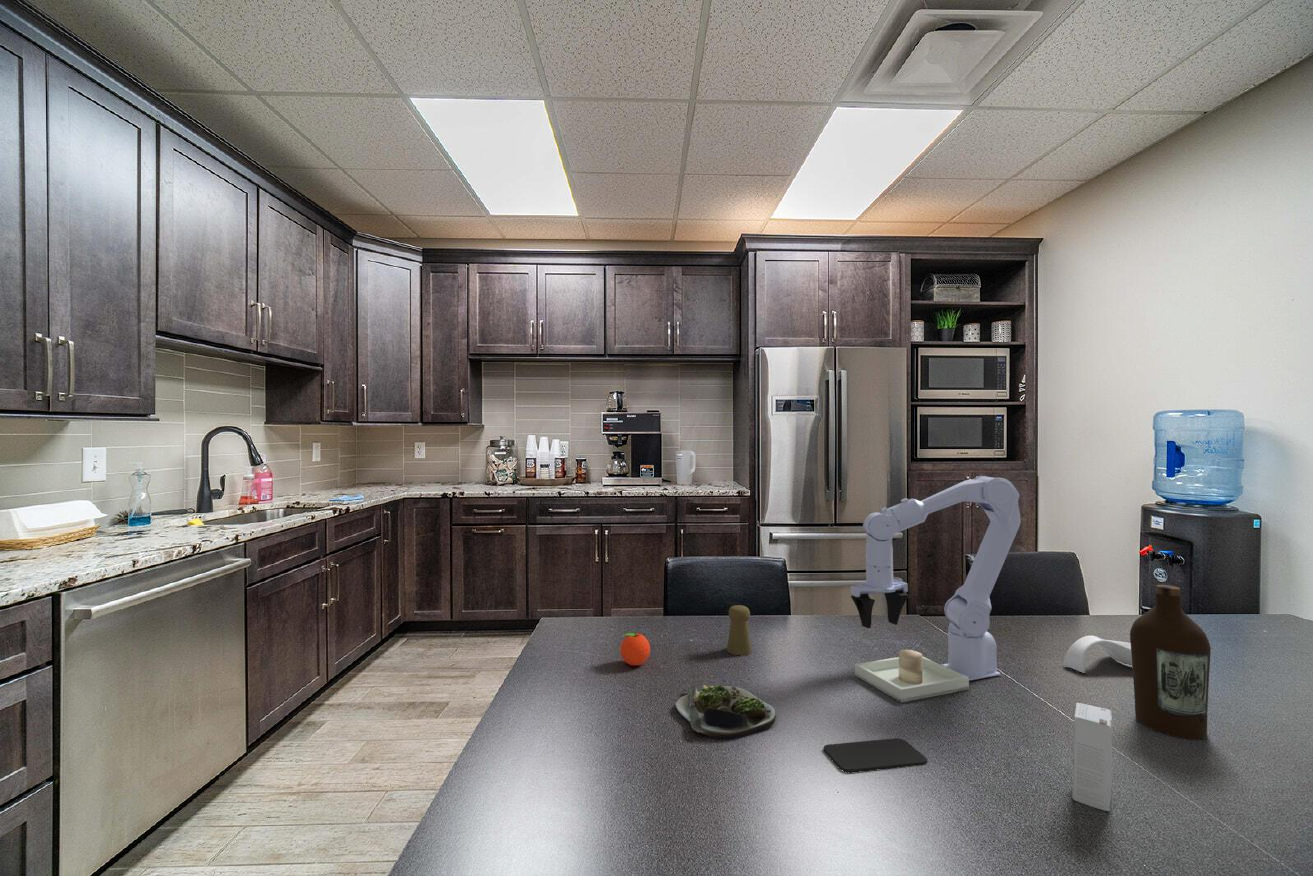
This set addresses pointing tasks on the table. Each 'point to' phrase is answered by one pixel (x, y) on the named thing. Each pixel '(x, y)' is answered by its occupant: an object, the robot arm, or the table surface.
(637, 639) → the clementine
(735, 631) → the cork
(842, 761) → the phone
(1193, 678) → the brown liquor bottle
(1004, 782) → the table surface
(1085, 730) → the skincare box
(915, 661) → the beige rounded cylinder
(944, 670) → the tray
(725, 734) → the salad plate
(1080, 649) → the white curved arch piece
